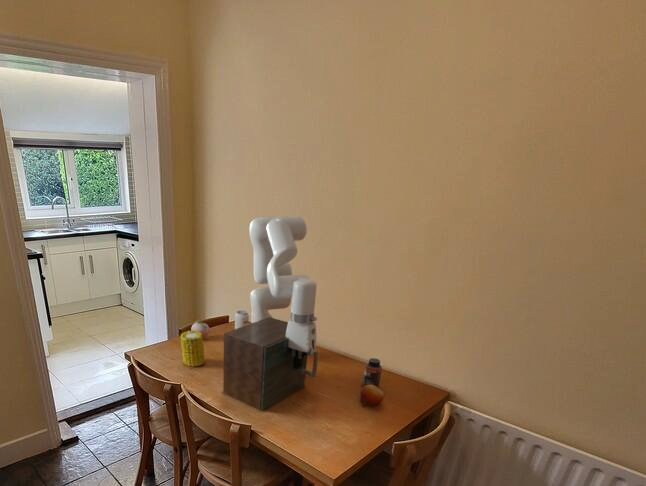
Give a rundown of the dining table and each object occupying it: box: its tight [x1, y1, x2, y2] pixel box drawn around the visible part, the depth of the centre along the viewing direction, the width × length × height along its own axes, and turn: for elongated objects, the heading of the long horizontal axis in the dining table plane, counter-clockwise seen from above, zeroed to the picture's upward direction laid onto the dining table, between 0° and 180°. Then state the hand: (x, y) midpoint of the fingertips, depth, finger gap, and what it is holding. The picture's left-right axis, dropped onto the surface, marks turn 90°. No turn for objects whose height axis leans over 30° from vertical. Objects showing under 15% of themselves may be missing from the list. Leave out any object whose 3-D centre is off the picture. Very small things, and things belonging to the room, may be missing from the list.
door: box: [260, 338, 319, 412], centre depth 145 cm, size 6×26×24 cm, turn 135°
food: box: [180, 329, 206, 367], centre depth 177 cm, size 15×12×10 cm
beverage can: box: [234, 310, 250, 330], centre depth 210 cm, size 7×7×12 cm
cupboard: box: [222, 317, 289, 411], centre depth 153 cm, size 18×26×24 cm
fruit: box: [359, 385, 385, 407], centre depth 147 cm, size 8×8×8 cm
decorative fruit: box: [190, 319, 211, 339], centre depth 204 cm, size 9×8×10 cm
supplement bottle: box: [362, 357, 383, 388], centre depth 157 cm, size 6×6×11 cm
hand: (297, 367), depth 145 cm, fingers closed
